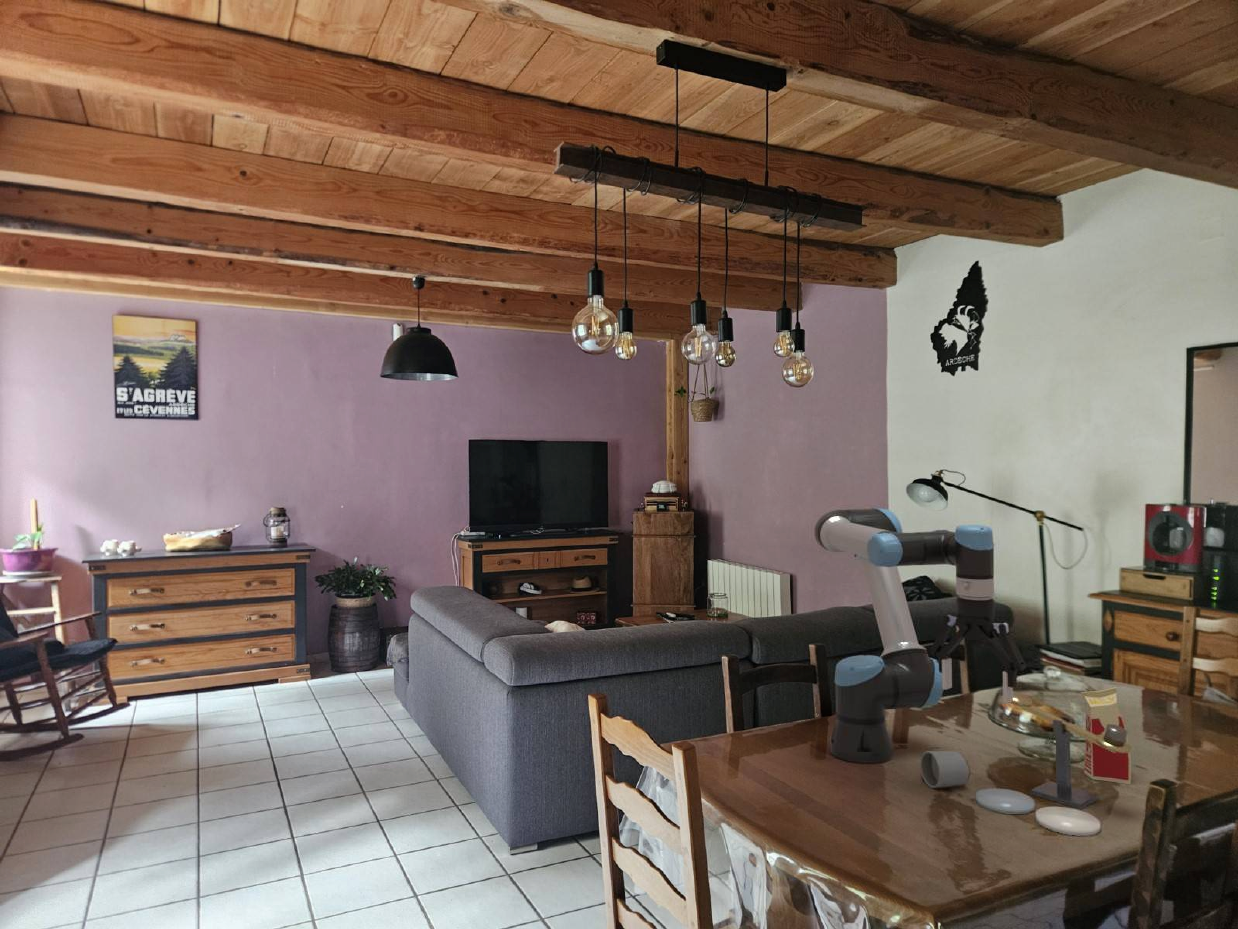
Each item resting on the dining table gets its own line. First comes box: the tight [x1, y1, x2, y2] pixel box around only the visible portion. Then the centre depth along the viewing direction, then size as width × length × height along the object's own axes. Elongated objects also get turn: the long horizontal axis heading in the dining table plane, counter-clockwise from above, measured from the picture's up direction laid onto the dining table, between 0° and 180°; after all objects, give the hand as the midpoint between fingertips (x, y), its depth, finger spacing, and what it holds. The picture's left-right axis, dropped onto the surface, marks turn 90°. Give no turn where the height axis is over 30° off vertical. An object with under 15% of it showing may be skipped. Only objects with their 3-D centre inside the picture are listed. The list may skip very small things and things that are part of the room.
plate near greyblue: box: [975, 788, 1036, 815], centre depth 166 cm, size 11×11×1 cm
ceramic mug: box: [920, 750, 971, 789], centre depth 179 cm, size 11×8×8 cm
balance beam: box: [1002, 690, 1131, 753], centre depth 169 cm, size 26×6×5 cm, turn 36°
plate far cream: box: [1035, 806, 1101, 837], centre depth 156 cm, size 11×11×1 cm
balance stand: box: [1030, 715, 1099, 810], centre depth 169 cm, size 10×8×16 cm
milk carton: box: [1080, 686, 1132, 785], centre depth 181 cm, size 9×9×20 cm
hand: (976, 695), depth 173 cm, fingers open, 13 cm apart
